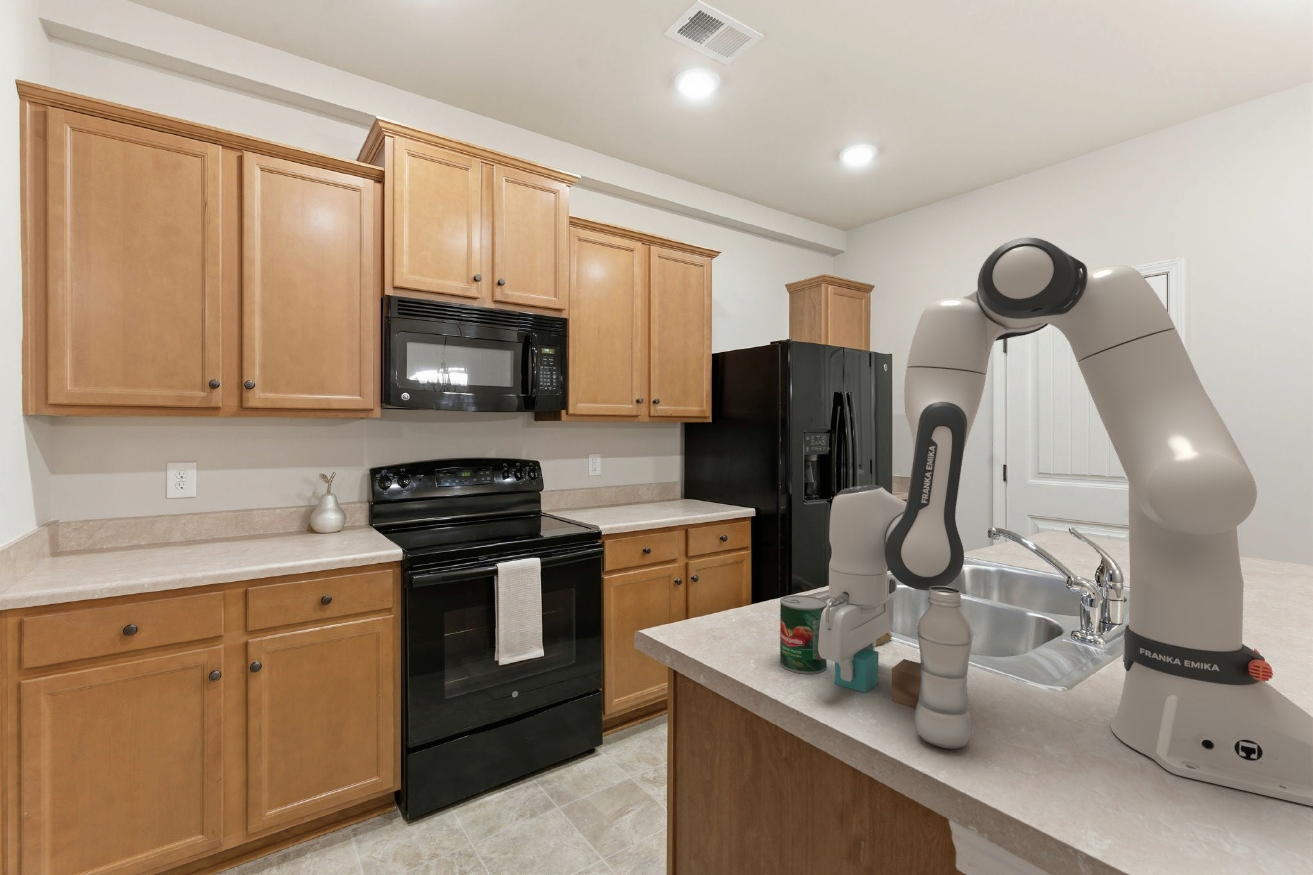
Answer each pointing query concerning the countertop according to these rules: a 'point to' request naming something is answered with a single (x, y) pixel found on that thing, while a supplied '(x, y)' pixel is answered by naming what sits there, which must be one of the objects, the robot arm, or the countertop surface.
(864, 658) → the teal block
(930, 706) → the plastic bottle
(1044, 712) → the countertop surface
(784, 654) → the canned tomato
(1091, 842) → the countertop surface
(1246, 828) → the countertop surface
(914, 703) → the walnut block
